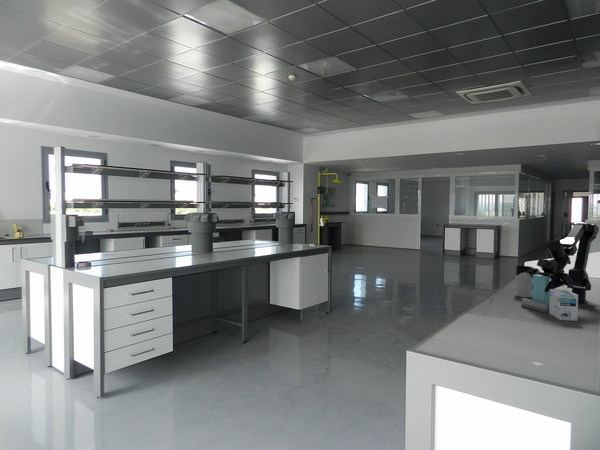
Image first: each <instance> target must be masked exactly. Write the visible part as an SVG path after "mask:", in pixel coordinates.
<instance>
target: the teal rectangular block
mask: <svg viewBox="0 0 600 450" xmlns="http://www.w3.org/2000/svg"><path fill="white" fill-rule="evenodd" d="M550 281H551V279H550V277H549V276H543V275H533V290H532V294H533V296H532V297H531V298H532V299H531V300H534V301H538V302H542V303H546V304H548V306H549V300H550V291H548V292H545V291H544V290H545V288H546V287H547V285H548V284H549V282H550Z"/></svg>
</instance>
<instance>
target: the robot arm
mask: <svg viewBox="0 0 600 450" xmlns="http://www.w3.org/2000/svg"><path fill="white" fill-rule="evenodd" d="M599 232H600V228H599V226H598V225H597V224H596V223H588V222H582V221H581V222H580V221H577V222H574V223H573V226H572V228H571V230H570V231H569V233H568V234H567V235H566V237H565V238H563V239H557V238H556V239H554V240H553V241H550V242H548V244H547V245H546V249H547V250H548V252H549V254H550V257H552V259H544V258H538V260H537V264H536V266H537V267H540V268H541V270H540V269H539V268H537V267H533V268H529V269H528V271H527V272H528V273H529V274H530V276H531V277H532V278H533V275H543V276H549V277H550V282H549V284H548V285H547V287H546V288H545V290H544V291H545V292H548V291H550V289H557V288H560V287H564V286H566V288H567V289H571V292H572V293H574V294H577V295H578V303H580V304H586V303H588V302H589V300H588V299H587V292H588V291H592V290H591V289H592V284H591V281H590V280H589V274H588V272H587V264H588V260H589V255H590V250H591V244H592V242H593V241H594V240H595V239H596V238H597V236H598V235H599ZM577 244H578V245H577ZM575 254H576V256H575ZM569 256H575V261H574V265H573V268H569V269H568V271H567V272H568V273H567V272H565V270H564V269H565V268H566V266H567V265H571V263H572V261H571V258H570V257H569ZM532 289H533V284H532Z"/></svg>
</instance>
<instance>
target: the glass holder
mask: <svg viewBox="0 0 600 450" xmlns="http://www.w3.org/2000/svg"><path fill="white" fill-rule="evenodd" d="M529 268H534V267H533V266H528V265H516V266H515V285H514V287H515V288H514V289H515V290H514V294H513V295H514V296H516V297H521V298H522V297H523V298H532V296H533V289H532V284H533V278H532V277H531V276H530V274H529V273H528V272H527V271H528V269H529Z"/></svg>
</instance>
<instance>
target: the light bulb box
mask: <svg viewBox="0 0 600 450" xmlns="http://www.w3.org/2000/svg"><path fill="white" fill-rule="evenodd" d="M549 300H550V304H549V312H548V314H549V315H551V316H553V317H555V318H556V319H558V320H560V321H571V322H572V321H573V322H577V321H578V318H579V317H578V316H579V315H578V310H579V302H578V295H577V294H574V293H572V291H569V290H567V289H557V288H555V289H550V298H549Z"/></svg>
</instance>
